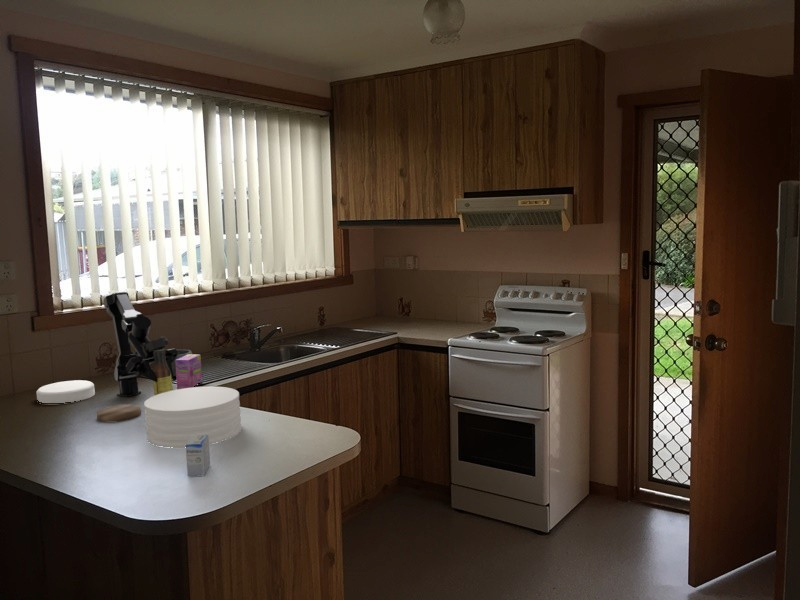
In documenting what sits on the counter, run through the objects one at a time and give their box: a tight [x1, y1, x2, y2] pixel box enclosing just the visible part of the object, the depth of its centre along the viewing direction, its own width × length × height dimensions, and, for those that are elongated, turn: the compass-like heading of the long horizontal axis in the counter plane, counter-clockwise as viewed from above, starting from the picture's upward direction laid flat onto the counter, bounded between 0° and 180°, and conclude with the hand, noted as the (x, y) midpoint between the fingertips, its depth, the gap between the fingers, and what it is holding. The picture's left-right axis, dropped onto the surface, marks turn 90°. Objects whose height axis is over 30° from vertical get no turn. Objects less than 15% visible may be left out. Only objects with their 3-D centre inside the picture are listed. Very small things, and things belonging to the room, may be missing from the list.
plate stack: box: [143, 386, 242, 449], centre depth 215 cm, size 28×28×12 cm
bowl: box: [171, 349, 193, 377], centre depth 297 cm, size 15×15×10 cm
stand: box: [96, 403, 142, 422], centre depth 239 cm, size 14×14×2 cm
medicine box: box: [185, 435, 211, 477], centre depth 183 cm, size 8×4×9 cm, turn 5°
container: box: [35, 379, 96, 404], centre depth 267 cm, size 20×20×5 cm
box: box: [175, 353, 203, 390], centre depth 277 cm, size 10×6×12 cm, turn 168°
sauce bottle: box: [151, 348, 174, 396], centre depth 243 cm, size 7×6×20 cm
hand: (164, 379), depth 242 cm, fingers closed on sauce bottle, 6 cm apart
